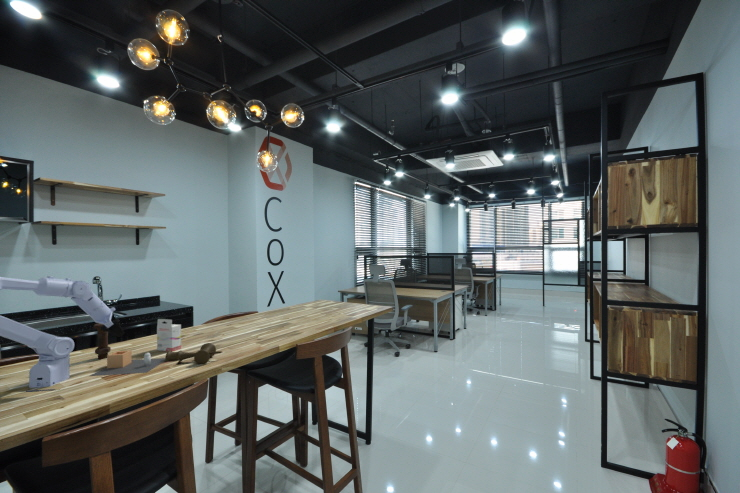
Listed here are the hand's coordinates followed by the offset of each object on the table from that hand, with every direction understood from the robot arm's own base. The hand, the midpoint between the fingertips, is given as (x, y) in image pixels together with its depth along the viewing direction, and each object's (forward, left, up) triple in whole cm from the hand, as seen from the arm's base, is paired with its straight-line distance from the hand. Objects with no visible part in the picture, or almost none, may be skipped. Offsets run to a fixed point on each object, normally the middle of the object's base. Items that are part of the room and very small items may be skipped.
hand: (119, 330), depth 125 cm
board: (-8, -9, -13) cm, 18 cm away
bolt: (+5, +9, -13) cm, 17 cm away
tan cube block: (-6, -3, -11) cm, 13 cm away
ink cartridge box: (+13, -12, -13) cm, 22 cm away
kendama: (-1, -28, -13) cm, 31 cm away
